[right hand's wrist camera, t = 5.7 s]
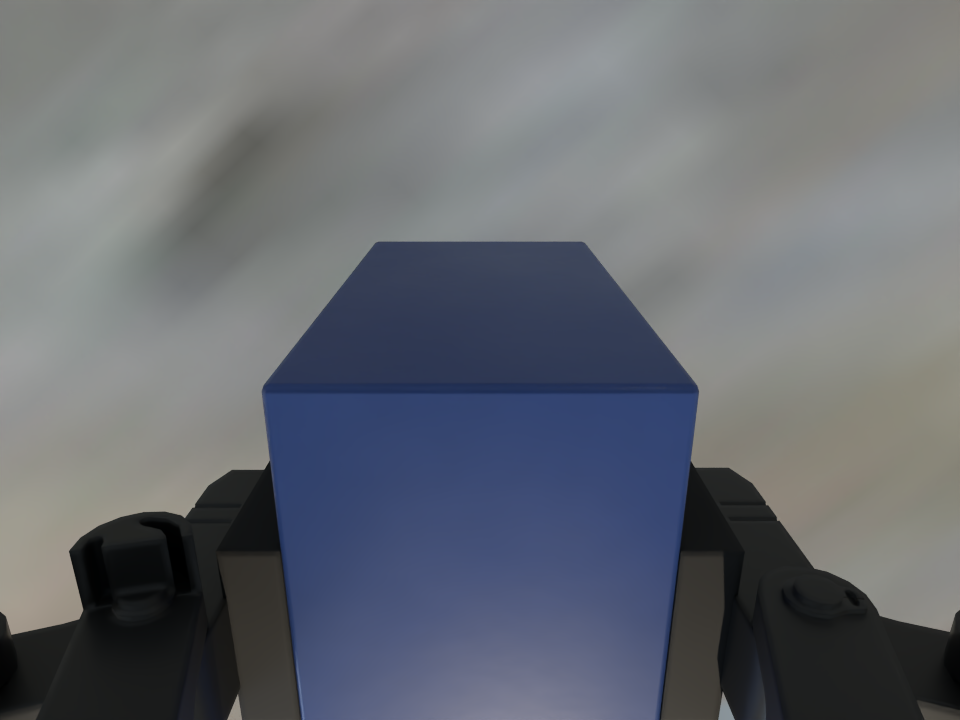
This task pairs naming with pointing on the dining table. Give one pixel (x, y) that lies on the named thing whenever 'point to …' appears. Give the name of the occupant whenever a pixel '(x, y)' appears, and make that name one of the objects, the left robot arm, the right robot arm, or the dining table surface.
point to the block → (480, 489)
